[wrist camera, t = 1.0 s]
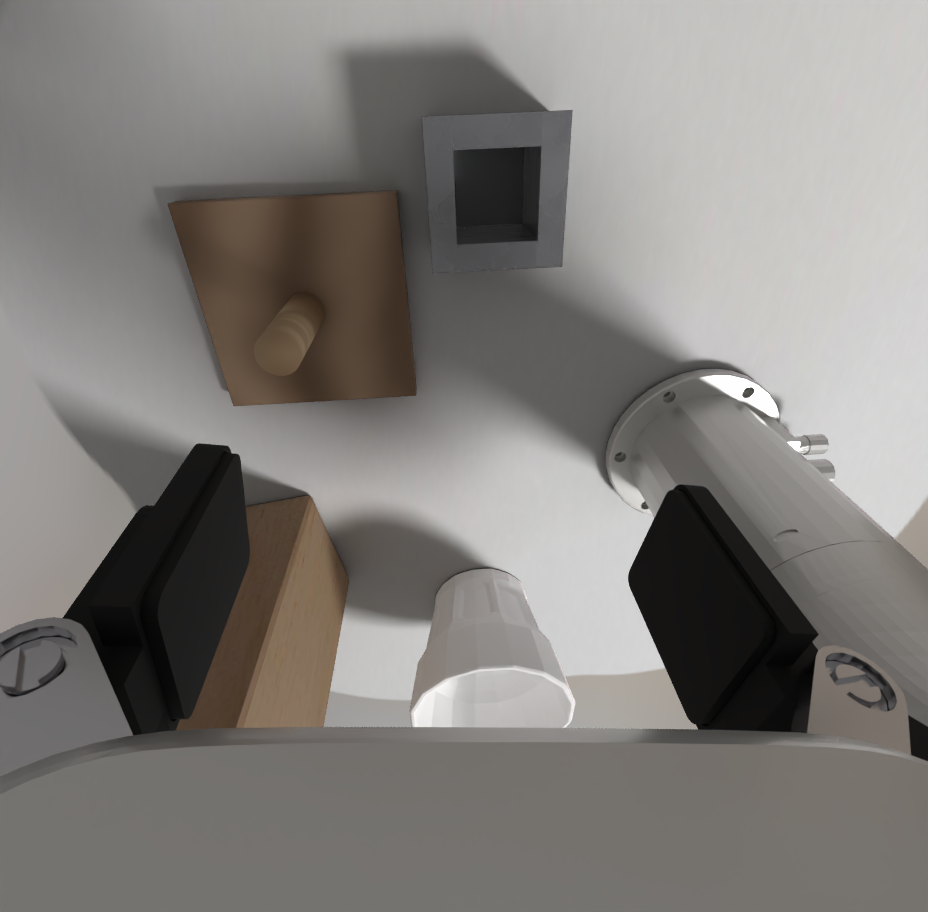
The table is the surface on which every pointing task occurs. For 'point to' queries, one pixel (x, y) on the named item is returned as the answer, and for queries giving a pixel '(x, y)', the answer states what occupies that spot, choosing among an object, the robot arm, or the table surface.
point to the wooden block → (278, 626)
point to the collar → (541, 190)
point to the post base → (303, 260)
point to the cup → (488, 660)
